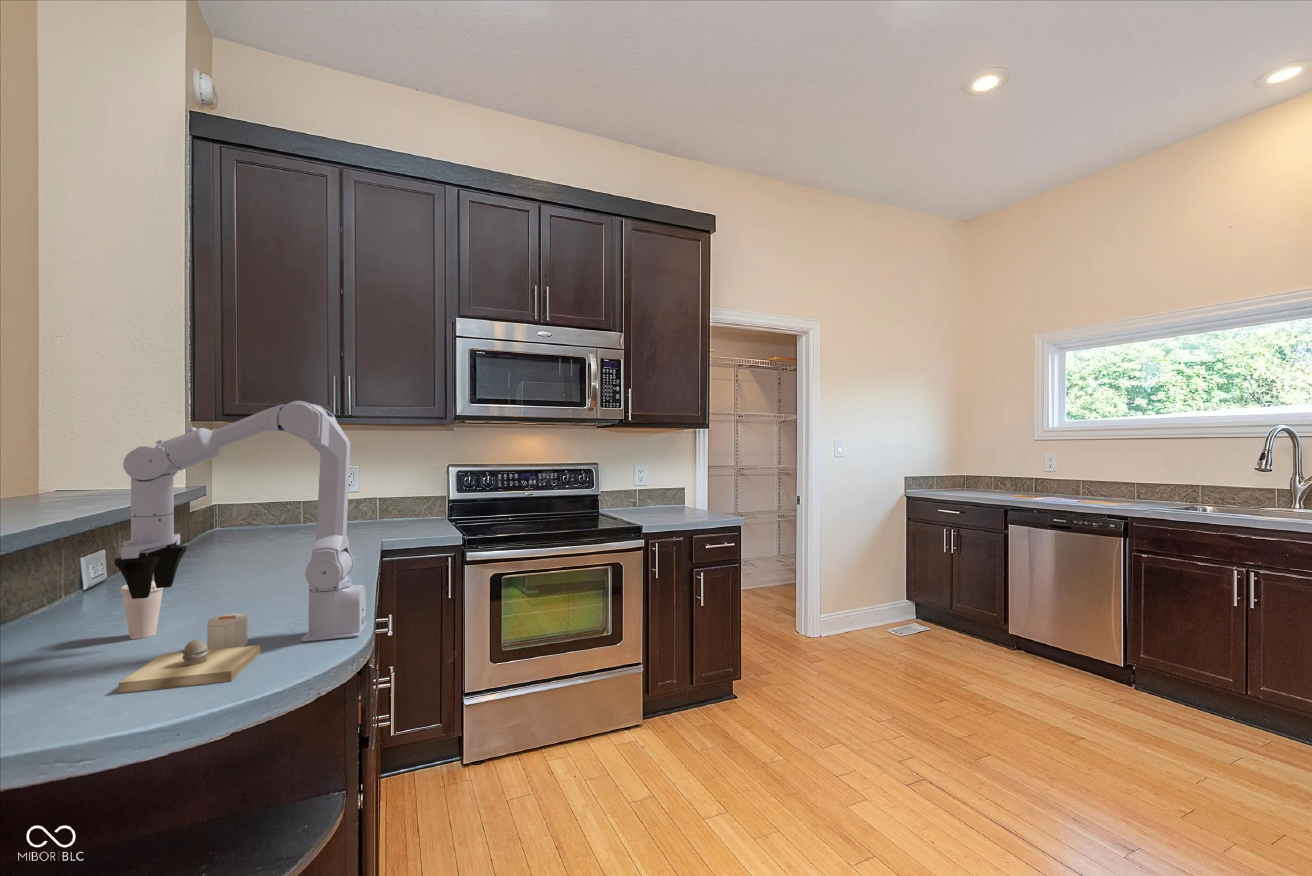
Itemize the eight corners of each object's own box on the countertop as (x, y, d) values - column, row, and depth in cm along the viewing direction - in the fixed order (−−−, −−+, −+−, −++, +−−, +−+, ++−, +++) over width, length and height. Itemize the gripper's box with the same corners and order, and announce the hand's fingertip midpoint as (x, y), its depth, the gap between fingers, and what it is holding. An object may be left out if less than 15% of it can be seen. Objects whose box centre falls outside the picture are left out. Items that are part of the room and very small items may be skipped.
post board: (260, 654, 99) (260, 624, 99) (231, 682, 88) (231, 647, 88) (162, 664, 95) (162, 632, 95) (118, 694, 84) (118, 658, 84)
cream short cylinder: (251, 639, 107) (251, 610, 107) (239, 650, 101) (239, 619, 101) (216, 643, 105) (216, 613, 105) (201, 653, 100) (201, 622, 100)
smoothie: (138, 642, 106) (138, 565, 106) (110, 640, 107) (110, 564, 107) (174, 631, 112) (174, 558, 112) (147, 629, 113) (147, 557, 113)
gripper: (148, 511, 108) (148, 584, 107) (98, 521, 94) (98, 605, 94) (193, 510, 110) (193, 581, 109) (150, 519, 96) (150, 601, 96)
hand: (152, 592), depth 102 cm, fingers open, 7 cm apart
